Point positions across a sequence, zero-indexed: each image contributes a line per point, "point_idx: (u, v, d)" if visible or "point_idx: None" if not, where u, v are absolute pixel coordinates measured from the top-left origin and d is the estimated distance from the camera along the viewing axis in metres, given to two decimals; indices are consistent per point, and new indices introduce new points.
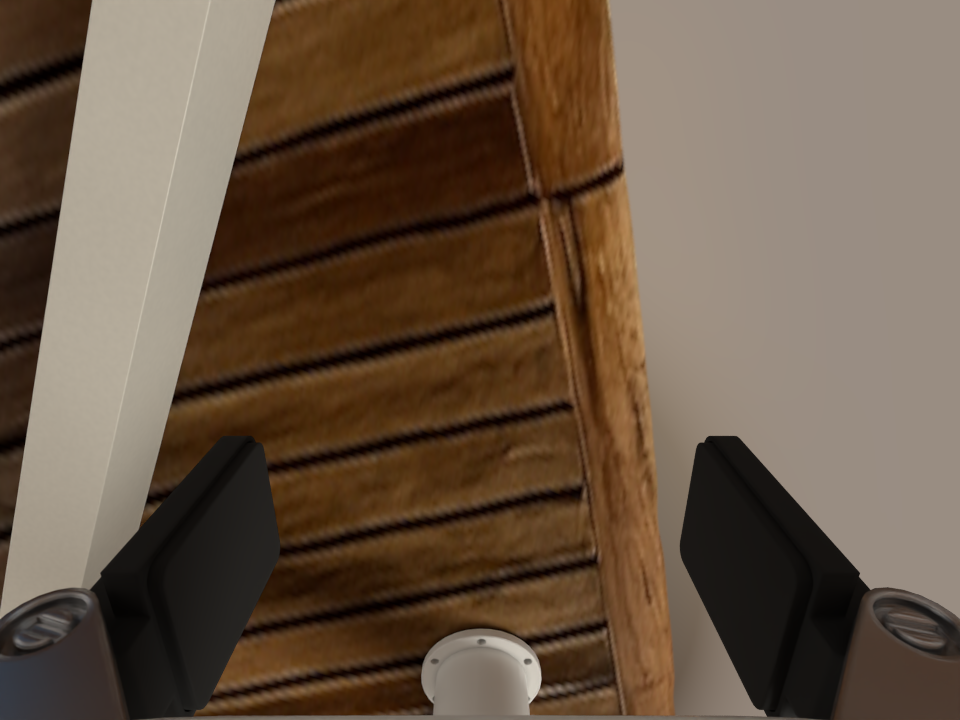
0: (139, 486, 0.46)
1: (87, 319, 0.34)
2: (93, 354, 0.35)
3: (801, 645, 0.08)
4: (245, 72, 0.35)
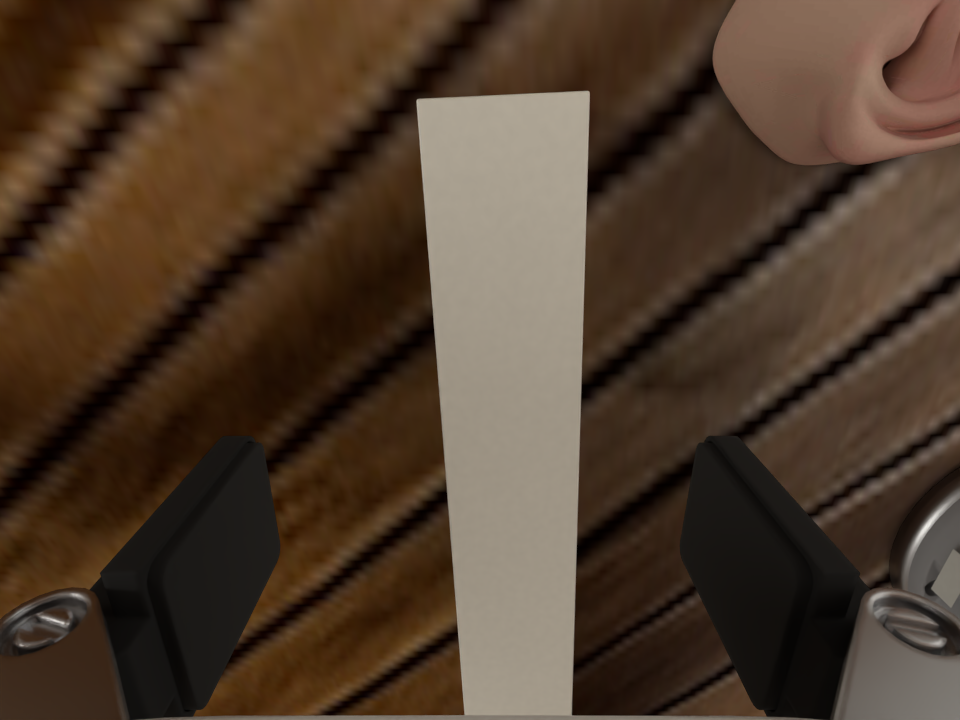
0: None
1: None
2: None
3: (801, 645, 0.08)
4: None
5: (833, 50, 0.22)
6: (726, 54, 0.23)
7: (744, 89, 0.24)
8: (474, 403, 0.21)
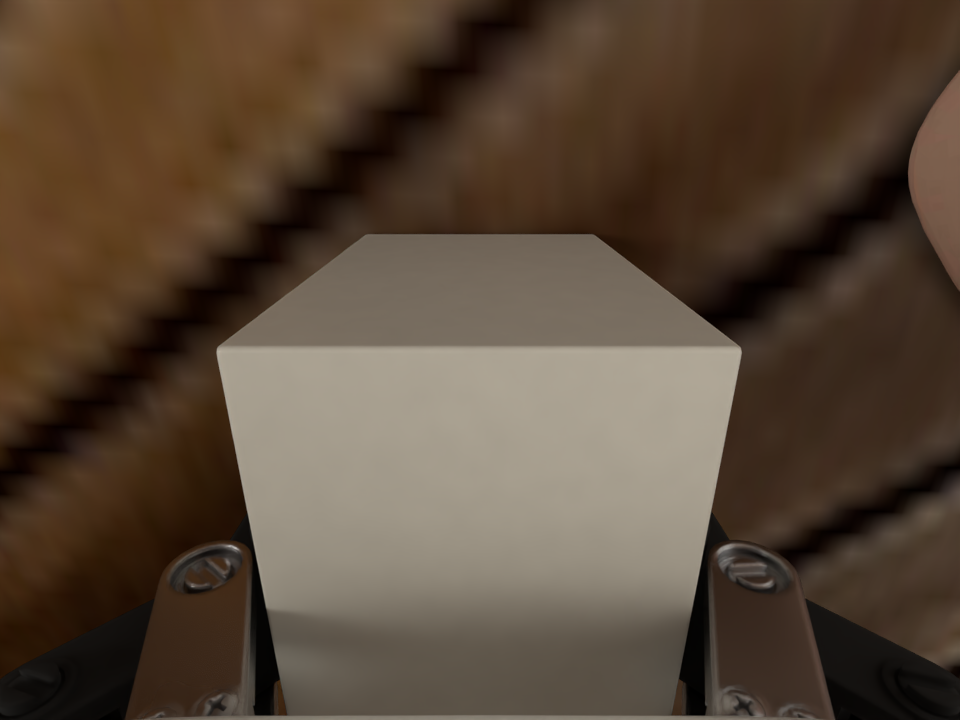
0: None
1: None
2: None
3: None
4: None
5: None
6: (943, 157, 0.12)
7: None
8: None
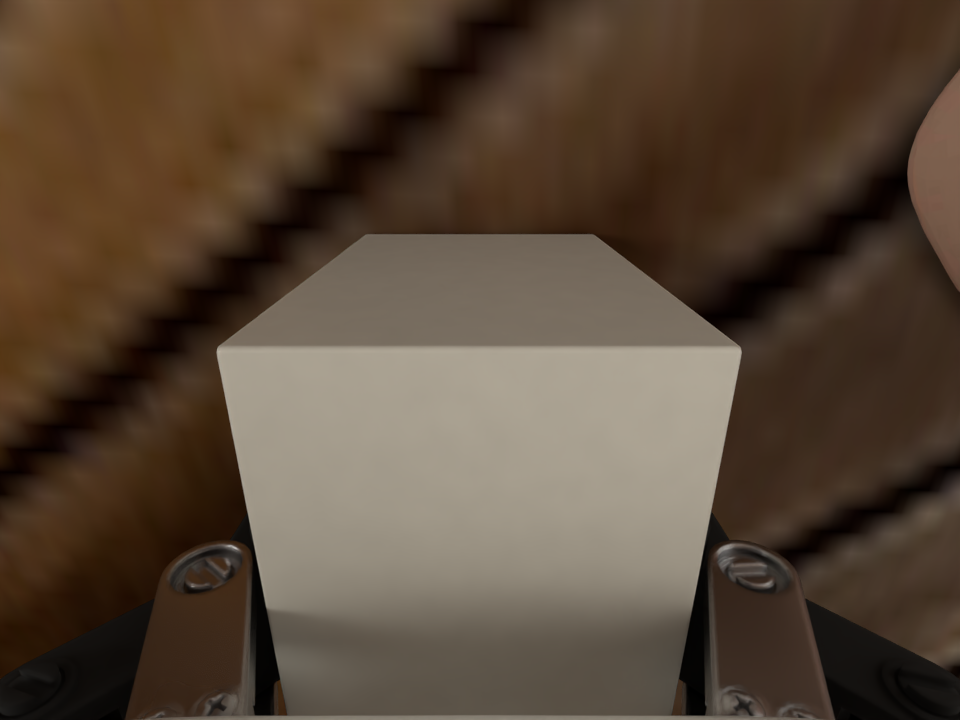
0: None
1: None
2: None
3: None
4: None
5: None
6: (943, 157, 0.12)
7: None
8: None
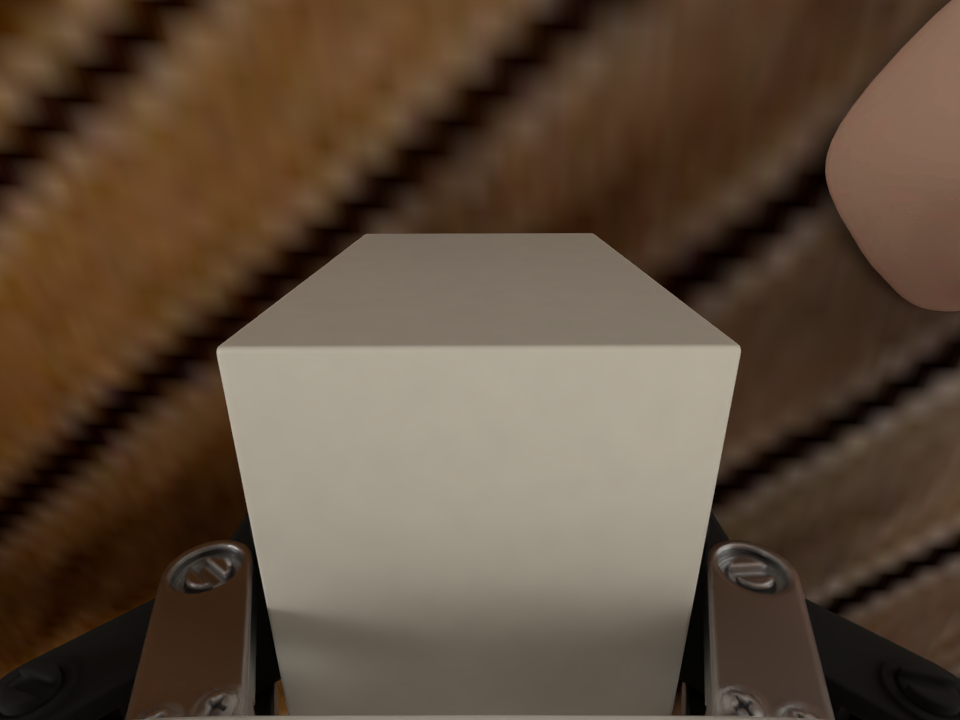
0: None
1: None
2: None
3: None
4: None
5: None
6: (848, 160, 0.16)
7: (869, 209, 0.16)
8: None
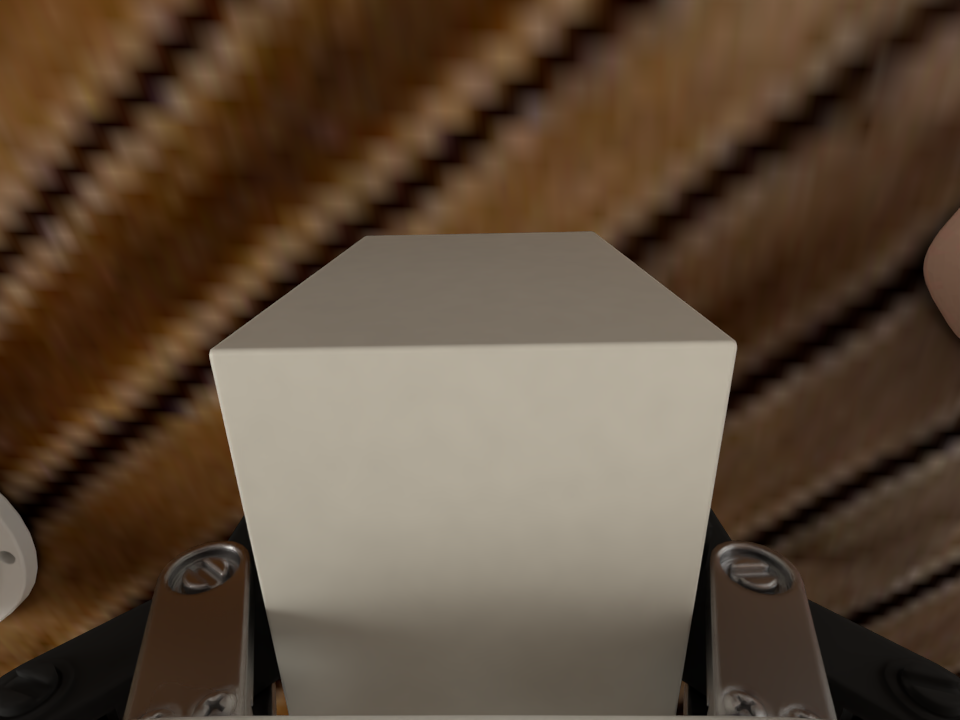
0: None
1: None
2: None
3: None
4: None
5: None
6: (942, 262, 0.22)
7: (956, 297, 0.22)
8: None
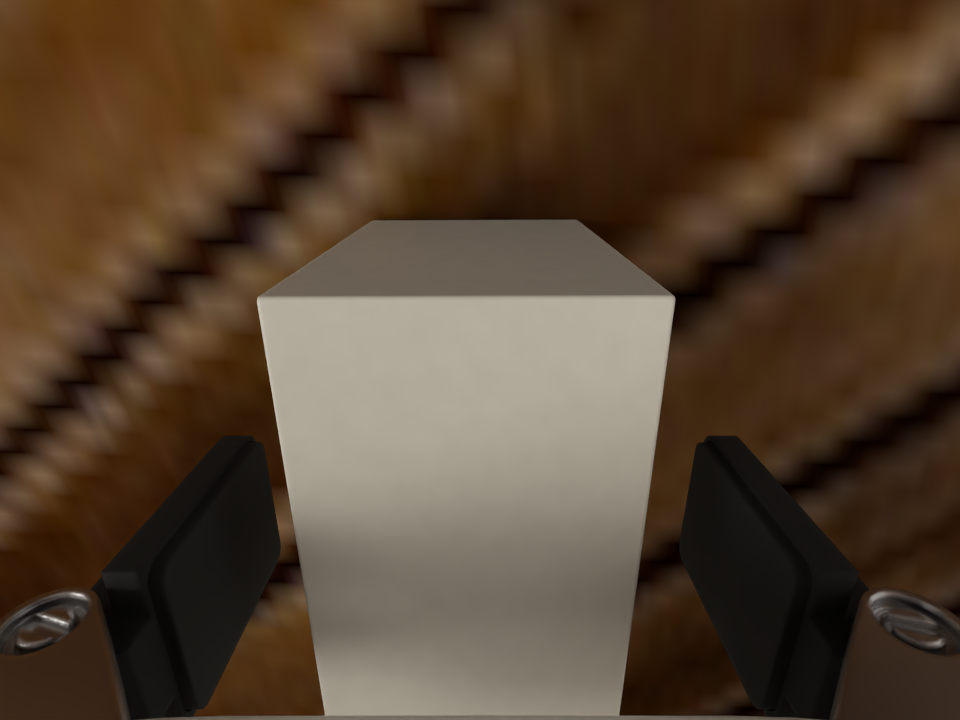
0: None
1: None
2: None
3: (801, 645, 0.08)
4: None
5: None
6: None
7: None
8: None
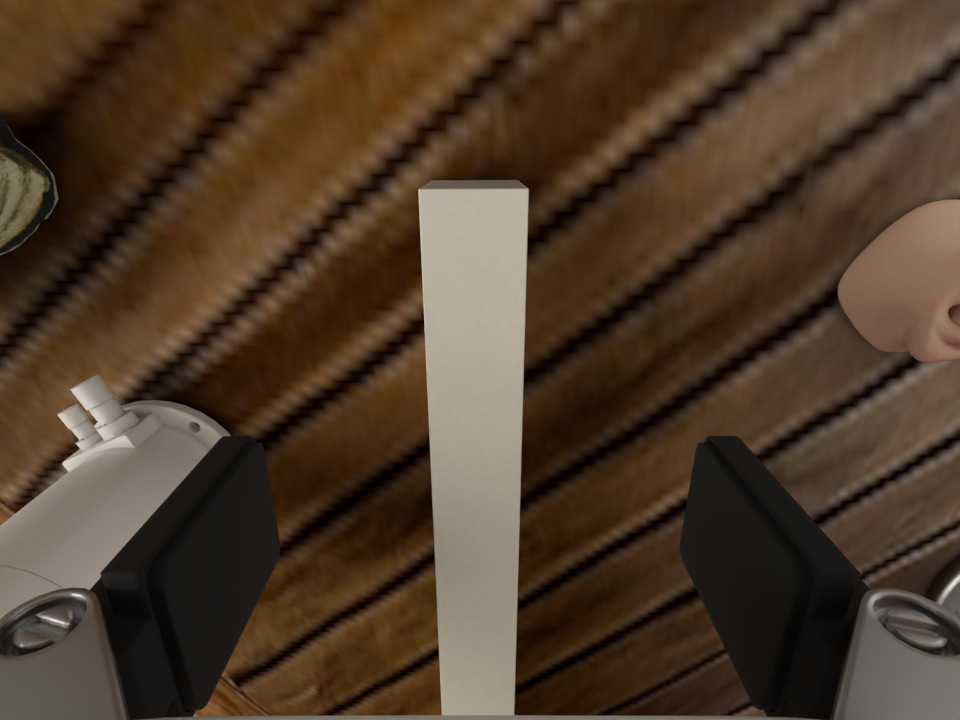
0: None
1: None
2: (471, 709, 0.41)
3: (801, 645, 0.08)
4: None
5: (919, 299, 0.35)
6: (848, 289, 0.37)
7: (857, 309, 0.37)
8: (450, 386, 0.31)
